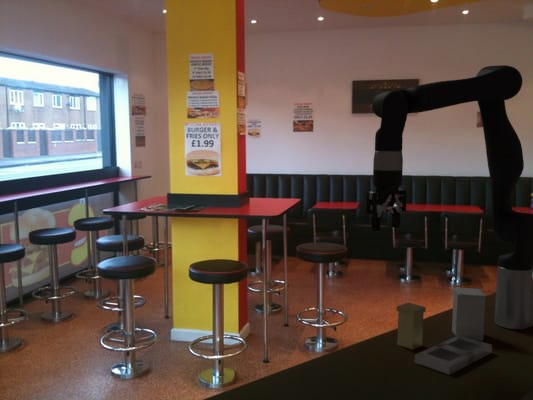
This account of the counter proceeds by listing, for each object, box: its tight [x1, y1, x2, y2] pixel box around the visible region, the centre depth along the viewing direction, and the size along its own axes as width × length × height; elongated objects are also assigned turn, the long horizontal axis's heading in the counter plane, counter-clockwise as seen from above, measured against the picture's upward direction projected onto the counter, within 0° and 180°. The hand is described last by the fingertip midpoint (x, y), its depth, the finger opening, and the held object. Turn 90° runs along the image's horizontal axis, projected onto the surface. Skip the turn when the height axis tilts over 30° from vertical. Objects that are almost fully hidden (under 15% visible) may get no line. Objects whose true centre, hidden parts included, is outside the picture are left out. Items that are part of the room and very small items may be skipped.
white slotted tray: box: [414, 335, 493, 376], centre depth 133 cm, size 20×9×3 cm, turn 131°
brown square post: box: [396, 302, 427, 351], centre depth 141 cm, size 5×5×11 cm
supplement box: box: [451, 287, 486, 342], centre depth 150 cm, size 7×7×13 cm
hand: (386, 229), depth 145 cm, fingers open, 8 cm apart
